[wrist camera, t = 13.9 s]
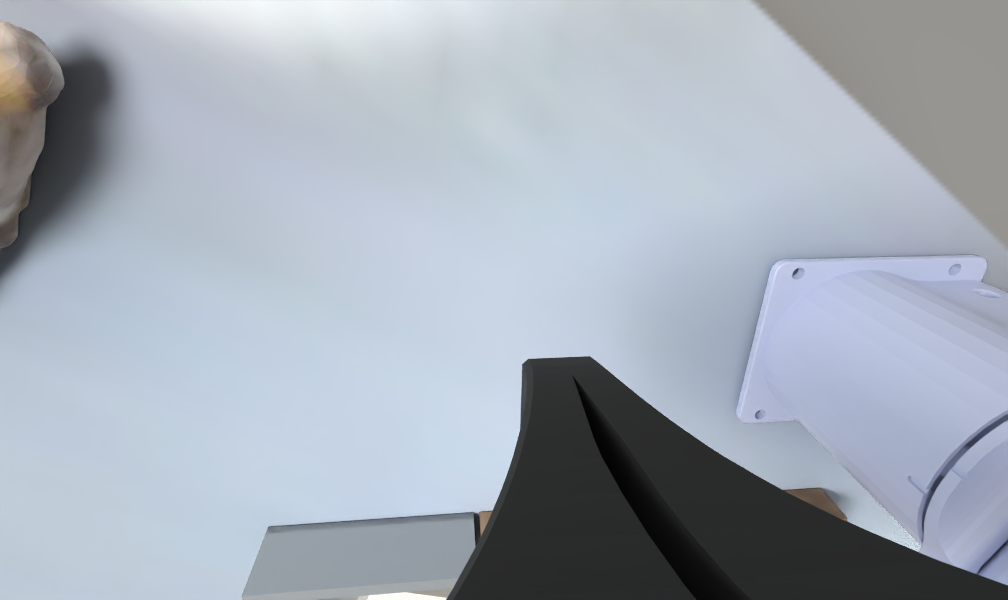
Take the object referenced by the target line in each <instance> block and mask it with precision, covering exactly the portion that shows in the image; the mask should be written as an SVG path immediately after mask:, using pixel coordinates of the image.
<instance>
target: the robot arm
mask: <svg viewBox="0 0 1008 600" xmlns="http://www.w3.org/2000/svg"><path fill="white" fill-rule="evenodd" d="M951 266H952V267H951ZM797 268H799V270H798V272H797V273H796V274H795V275H794V276H792V273H793V271H794V270H795V269H797ZM950 268H951V269H950ZM986 268H987V260H985V259H984V258H982V257H980V256H976V255H951V256H909V257H867V258H825V259H784V260H780V261H778V262H777V263H775V264H774V265H773V267H772V268H771V271H770V274H769V278H768V283H767V287H766V291H765V295H764V299H763V303H762V307H761V311H760V315H759V319H758V323H757V327H756V331H755V336H754V340H753V344H752V348H751V352H750V356H749V360H748V364H747V368H746V372H745V376H744V380H743V385H742V389H741V393H740V397H739V401H738V405H737V409H736V415H737V417H738V418H739V420H740V421H741V422H743V423H761V422H779V421H797V420H798V421H799V422H800V423H801V424H802V425H803V426H804V427H805V428H806V429H807V430H808V431H809V432H810V433H811V434H812V436H813V437H814V438H815V439H816V440H817V441H818V442H819V443H820V444H821V445H822V446H823V447H824V448H825V449H826V450H827V451H828V452H829V453H830V454H831V455H832V456H833V457H834V458H835V459H836V460H837V461H838V462H839V463H840V464H841V465H842V466H843V467H844V468H845V469H846V470H847V471H848V472H849V473H850V474H851V475H852V476H853V477H854V478H855V479H856V480H857V481H858V482H859V483H860V484H861V485H862V486H863V487H864V488H865V489H866V490H867V491H868V492H869V493H870V494H871V495H872V496H873V497H874V498H875V499H876V500H877V501H878V502H879V503H880V504H881V505H882V506H883V507H884V508H885V509H886V510H887V511H888V512H889V513H890V514H891V516H892V517H893V518H894V519H895V520H896V521H897V522H898V523H899V524H900V525H901V526H902V527H903V528H904V529H905V530H906V531H907V532H908V533H909V534H910V535H911V536H912V537H913V538H914V539H915V540H916V541H917V542H918V543H919V544H920V545H921V548H920V550H919V552H917V551H914V550H912V549H910V548H907V547H905V546H902V545H900V544H898V543H895V542H893V541H890V540H888V539H886V538H883V537H881V536H878V535H876V534H874V533H871V532H869V531H867V530H865V529H862V528H860V527H858V526H856V525H854V524H851V523H849V522H847V521H845V520H842V519H840V518H838V517H836V516H834V515H832V514H830V513H828V512H826V511H824V510H822V509H820V508H818V507H816V506H814V505H811V504H809V503H807V502H805V501H803V500H801V499H799V498H797V497H795V496H793V495H791V494H789V493H787V492H785V491H784V490H782V489H780V488H778V487H776V486H774V485H772V484H770V483H769V482H767V481H765V480H763V479H761V478H760V477H758V476H756V475H754V474H753V473H751V472H749V471H748V470H746V469H744V468H743V467H741V466H739V465H737V464H736V463H734V462H732V461H731V460H729V459H727V458H726V457H724V456H722V455H721V454H719V453H718V452H716V451H714V450H713V449H711V448H710V447H708V446H707V445H705V444H704V443H702V442H701V441H699V440H698V439H696V438H695V437H694V436H692V435H691V434H689V433H688V432H686V431H685V430H683V429H682V428H680V427H679V426H678V425H676V424H675V423H673V422H672V421H671V420H669V419H668V418H667V417H665V416H664V415H663V414H661V413H660V412H659V411H657V410H656V409H655V408H653V407H652V406H651V405H650V404H648V403H647V402H646V401H644V400H643V399H642V398H641V397H639V396H638V395H637V394H636V393H634V392H633V391H632V390H631V389H629V388H628V387H627V386H626V385H625V384H623V383H622V382H621V381H620V380H618V379H617V378H616V377H615V376H614V375H612V374H611V373H610V372H609V371H608V370H606V369H605V368H604V367H603V366H602V365H600V364H599V363H598V362H597V361H595V360H594V359H593V358H591V357H590V356H589V357H565V358H541V359H528V360H527V361H526V362H525V363H523V364H522V394H521V424H520V433H519V437H518V440H517V444H516V448H515V452H514V455H513V459H512V462H511V465H510V468H509V471H508V474H507V476H506V479H505V482H504V484H503V487H502V490H501V492H500V495H499V497H498V500H497V502H496V504H495V507H494V509H493V511H492V513H491V516H490V518H489V520H488V523H487V525H486V527H485V529H484V531H483V533H482V535H481V537H480V539H479V541H478V543H477V545H476V547H475V549H474V551H473V553H472V554H471V556H470V558H469V560H468V562H467V564H466V565H465V567H464V569H463V571H462V573H461V574H460V576H459V578H458V580H457V582H456V584H455V585H454V587H453V589H452V591H451V592H450V594H449V596H448V597H447V599H446V600H1008V292H1005V291H1003V290H1001V289H998V288H996V287H993V286H991V285H988V284H986V283H983V282H981V280H982V278H983V275H984V273H985V271H986ZM949 269H950V270H949ZM759 410H760V412H758V411H759ZM756 412H758V413H757V414H756Z"/></svg>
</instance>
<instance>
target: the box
mask: <svg viewBox="0 0 1008 600" xmlns="http://www.w3.org/2000/svg"><path fill="white" fill-rule="evenodd" d="M474 549H475V532H474V515H473V513H460V514H446V515H432V516H417V517H403V518H389V519H375V520H361V521H347V522H333V523H319V524H304V525H290V526H276V527H268V529H267V532H266V534H265V537H264V540H263V542H262V545H261V547H260V550H259V553H258V555H257V558H256V560H255V563H254V566H253V568H252V571H251V573H250V576H249V579H248V581H247V584H246V587H245V589H244V592H243V594H242V599H243V600H358V597H359V596H367V595H379V594H390V593H402V592H414V591H426V590H437V589H449V588H453V587H454V585H455V584H456V582H457V580H458V578H459V576H460V574H461V573H462V571H463V569H464V567H465V565H466V564H467V562H468V560H469V558H470V556H471V554H472V553H473V551H474Z"/></svg>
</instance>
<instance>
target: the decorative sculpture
mask: <svg viewBox="0 0 1008 600" xmlns="http://www.w3.org/2000/svg"><path fill="white" fill-rule="evenodd" d="M64 84H65V82H64V77H63V73H62V70H61V67H60V65H59V64H58V62H57V61H56V59H55V58H54V56H53V55H52V53H51V52H50V50H49V49H48V47H47V46H46V44H45V43H44V42H43V41H42V40H41V39H40V38H39V37H38V36H37V35H35V34H34V33H32V32H30V31H27V30H25V29H23V28H20V27H17V26H14V25H12V24H10V23H8V22H0V249H1V248H4V247H7V246H10V245H11V244H12V243H13V242H14V241H15V239H16V238H17V237H18V219H19V213H20V212H21V211H22V210H23V209H24V208H26V207H27V206H28V203H29V199H30V189H31V173H32V171H33V170H34V167H35V164H36V161H37V159H38V157H39V155H40V153H41V151H42V150H43V147H44V142H45V122H46V110H47V107H48V106H49V105H50V104H51V103H53V102H54V101H55V100H56V99H57V98H58V96H59V94H60V92H61V90H62V89H63V88H64Z"/></svg>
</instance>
